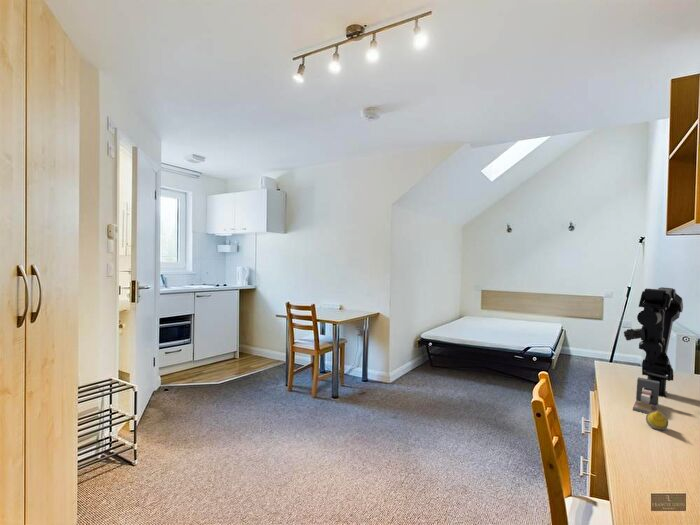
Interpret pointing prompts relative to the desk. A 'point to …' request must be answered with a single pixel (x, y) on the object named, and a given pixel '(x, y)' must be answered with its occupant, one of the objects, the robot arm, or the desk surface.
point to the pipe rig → (645, 402)
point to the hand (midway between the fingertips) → (650, 366)
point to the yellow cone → (657, 420)
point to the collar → (649, 385)
